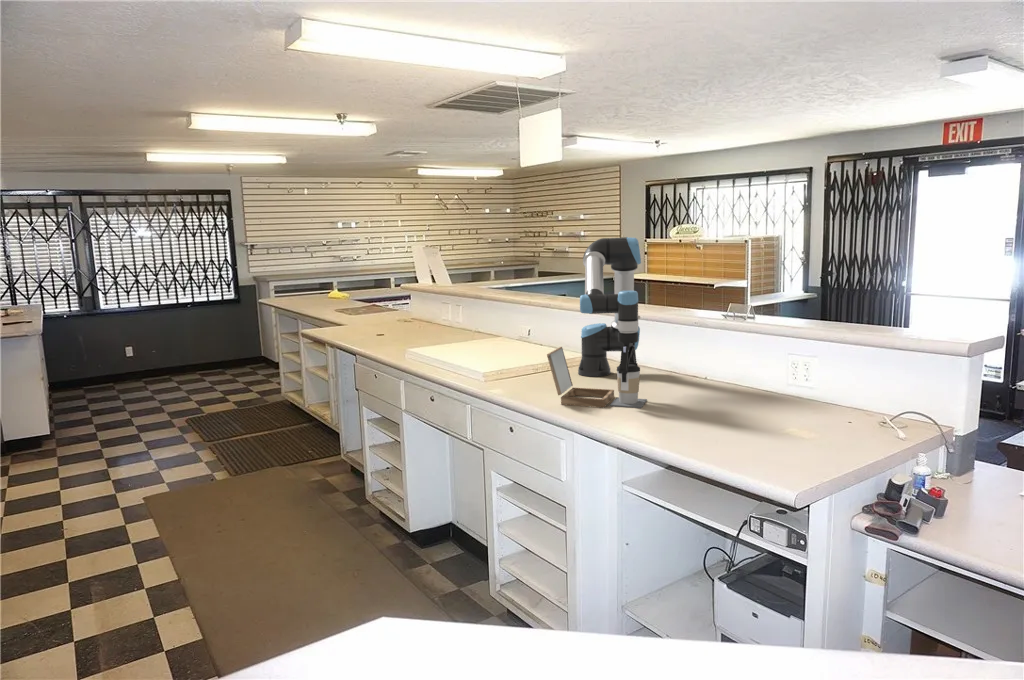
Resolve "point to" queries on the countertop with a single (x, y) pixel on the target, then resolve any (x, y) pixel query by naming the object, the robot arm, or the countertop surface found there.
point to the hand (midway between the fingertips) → (628, 386)
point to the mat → (635, 405)
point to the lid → (559, 370)
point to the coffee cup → (629, 384)
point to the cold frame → (575, 401)
